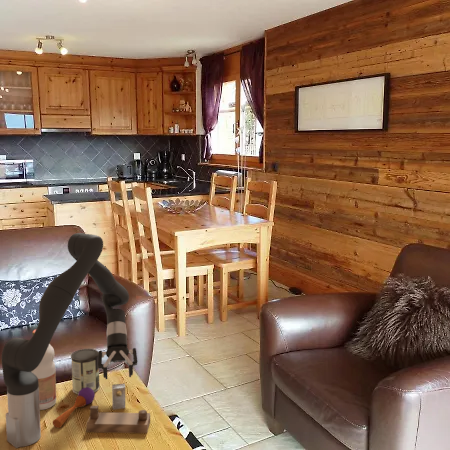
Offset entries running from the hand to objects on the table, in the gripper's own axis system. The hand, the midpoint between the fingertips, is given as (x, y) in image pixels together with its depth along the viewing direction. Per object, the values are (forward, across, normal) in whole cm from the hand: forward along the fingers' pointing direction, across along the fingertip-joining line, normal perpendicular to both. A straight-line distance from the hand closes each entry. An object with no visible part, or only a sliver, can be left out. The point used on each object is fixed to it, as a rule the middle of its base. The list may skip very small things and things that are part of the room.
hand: (118, 377), depth 181 cm
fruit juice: (+4, -27, +9) cm, 29 cm away
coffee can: (-2, -12, +15) cm, 19 cm away
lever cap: (+9, 0, +4) cm, 10 cm away
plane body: (+18, -1, -5) cm, 19 cm away
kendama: (+10, -15, +4) cm, 19 cm away
